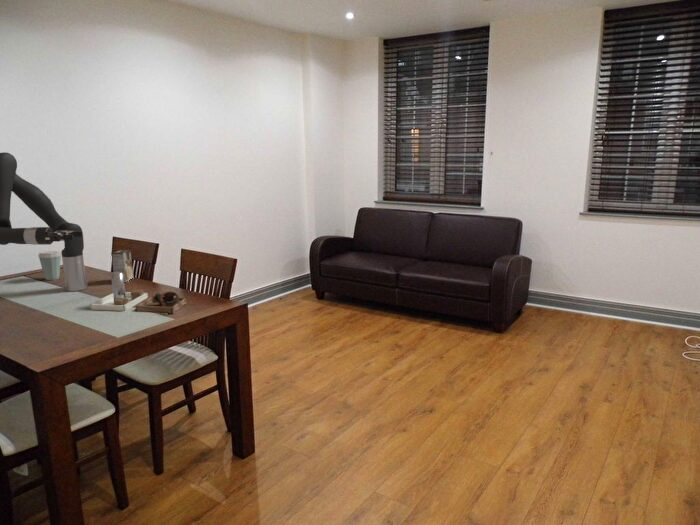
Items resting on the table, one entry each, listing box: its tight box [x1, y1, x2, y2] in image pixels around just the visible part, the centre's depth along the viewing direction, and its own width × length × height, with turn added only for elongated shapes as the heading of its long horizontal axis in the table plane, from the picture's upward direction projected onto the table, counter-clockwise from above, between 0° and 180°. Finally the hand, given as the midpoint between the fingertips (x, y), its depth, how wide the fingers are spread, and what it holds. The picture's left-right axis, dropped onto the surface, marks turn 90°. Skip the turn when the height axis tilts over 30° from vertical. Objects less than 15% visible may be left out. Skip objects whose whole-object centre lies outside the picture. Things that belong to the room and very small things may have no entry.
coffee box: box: [111, 249, 135, 283], centre depth 268 cm, size 9×6×16 cm
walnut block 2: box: [130, 289, 144, 300], centre depth 234 cm, size 4×4×4 cm
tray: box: [89, 291, 149, 312], centre depth 228 cm, size 20×16×3 cm
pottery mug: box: [153, 290, 180, 307], centre depth 225 cm, size 12×10×8 cm
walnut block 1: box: [114, 298, 129, 305], centre depth 221 cm, size 4×4×4 cm
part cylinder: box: [110, 271, 126, 304], centre depth 227 cm, size 5×5×14 cm
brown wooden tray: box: [135, 296, 188, 314], centre depth 224 cm, size 15×17×3 cm
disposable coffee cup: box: [38, 250, 62, 281], centre depth 271 cm, size 11×11×15 cm
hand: (77, 235), depth 220 cm, fingers open, 8 cm apart
